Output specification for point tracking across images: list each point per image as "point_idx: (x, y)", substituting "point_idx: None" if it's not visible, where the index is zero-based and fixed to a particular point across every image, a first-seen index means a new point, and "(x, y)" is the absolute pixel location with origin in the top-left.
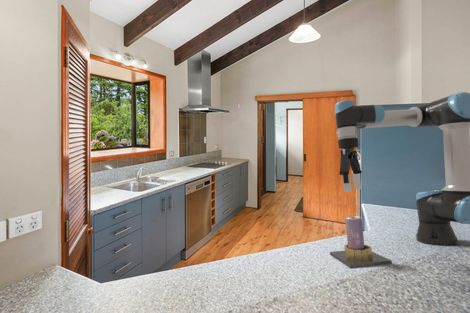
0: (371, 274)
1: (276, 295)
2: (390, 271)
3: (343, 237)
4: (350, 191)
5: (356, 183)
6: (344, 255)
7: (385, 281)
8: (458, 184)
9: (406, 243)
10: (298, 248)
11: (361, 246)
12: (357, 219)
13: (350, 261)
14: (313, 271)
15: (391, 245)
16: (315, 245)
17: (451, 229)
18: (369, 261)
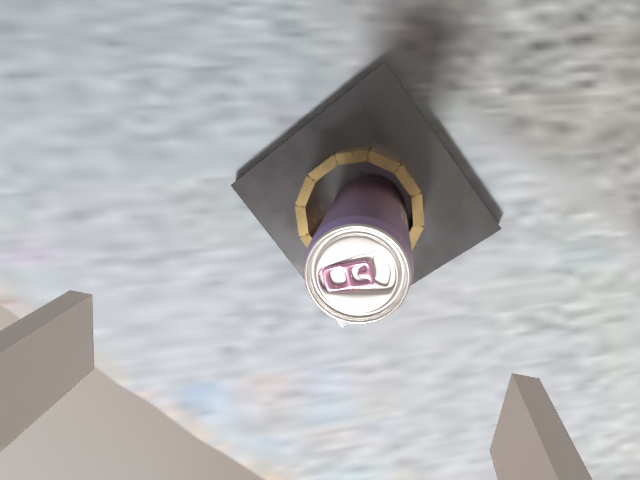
0: (557, 137)
1: None
2: (493, 65)
3: (28, 303)
4: (539, 390)
5: (38, 378)
6: None
7: (629, 78)
8: None
9: (5, 5)
10: (295, 453)
11: (395, 196)
12: (397, 242)
13: (458, 230)
14: (585, 348)
15: (76, 76)
16: (220, 398)
17: None
18: (432, 154)
